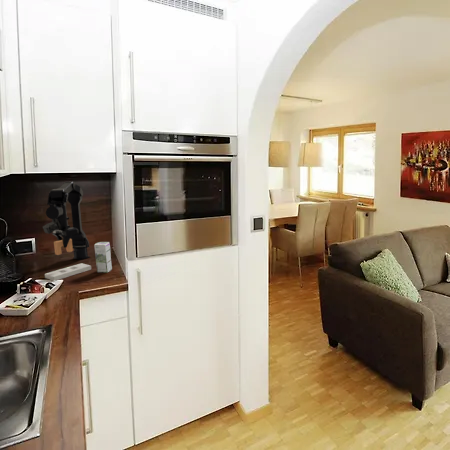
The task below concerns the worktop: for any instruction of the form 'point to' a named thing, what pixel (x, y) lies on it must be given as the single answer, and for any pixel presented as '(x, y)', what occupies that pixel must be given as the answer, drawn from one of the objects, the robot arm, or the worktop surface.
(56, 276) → the rail
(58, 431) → the worktop surface
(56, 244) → the clip
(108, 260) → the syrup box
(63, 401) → the worktop surface
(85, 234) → the robot arm
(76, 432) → the worktop surface
